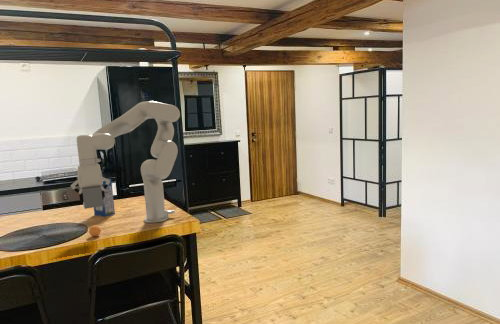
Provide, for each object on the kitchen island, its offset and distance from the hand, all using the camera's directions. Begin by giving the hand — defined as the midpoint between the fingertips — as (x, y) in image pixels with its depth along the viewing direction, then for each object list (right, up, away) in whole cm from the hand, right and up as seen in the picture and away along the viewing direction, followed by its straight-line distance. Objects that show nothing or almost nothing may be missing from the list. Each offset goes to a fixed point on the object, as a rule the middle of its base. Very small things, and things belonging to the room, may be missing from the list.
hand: (92, 200), depth 166 cm
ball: (0, -14, +2) cm, 14 cm away
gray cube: (0, -2, 0) cm, 3 cm away
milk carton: (-11, -13, +41) cm, 44 cm away
